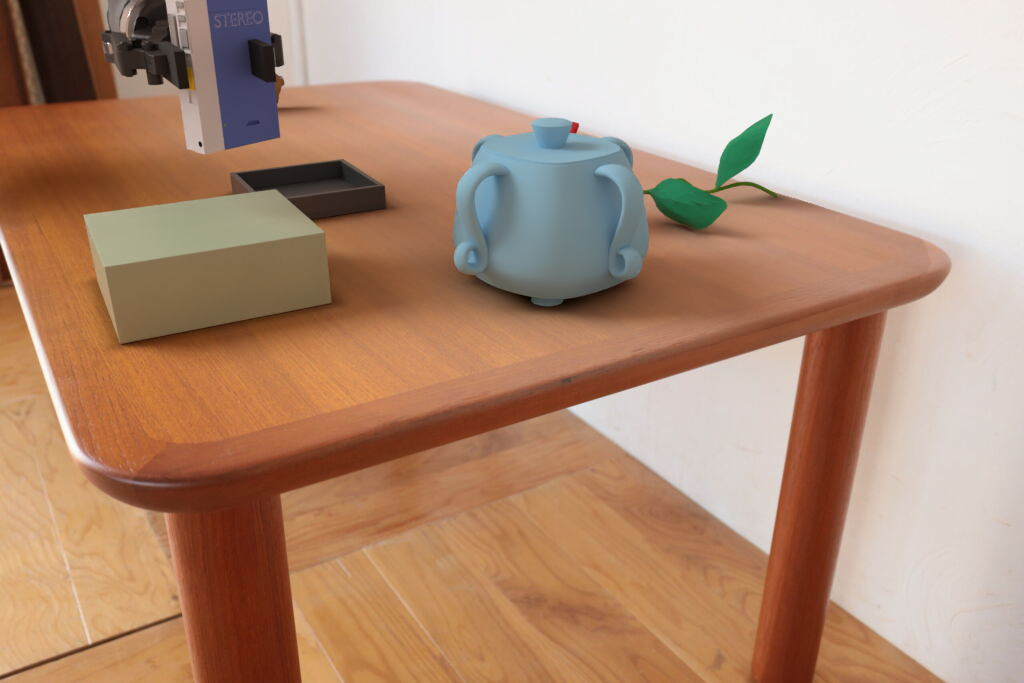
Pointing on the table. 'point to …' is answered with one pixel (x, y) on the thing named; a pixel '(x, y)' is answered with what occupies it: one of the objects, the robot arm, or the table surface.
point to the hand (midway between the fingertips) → (226, 67)
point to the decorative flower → (701, 205)
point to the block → (206, 263)
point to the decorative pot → (550, 213)
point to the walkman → (223, 73)
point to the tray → (316, 187)
